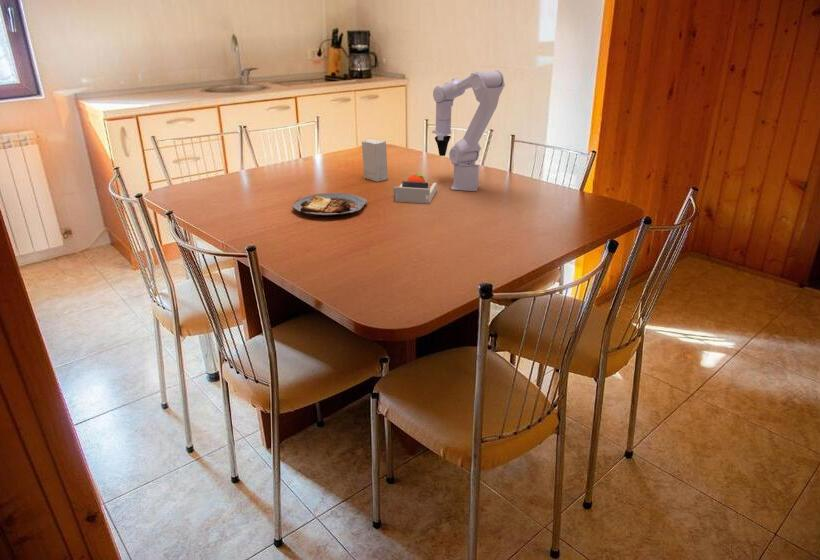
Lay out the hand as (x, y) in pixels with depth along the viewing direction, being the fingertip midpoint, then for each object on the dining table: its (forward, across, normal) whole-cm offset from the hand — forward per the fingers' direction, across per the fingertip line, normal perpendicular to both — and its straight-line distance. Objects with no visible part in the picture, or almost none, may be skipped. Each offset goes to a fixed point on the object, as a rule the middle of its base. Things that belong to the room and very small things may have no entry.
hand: (442, 155), depth 225 cm
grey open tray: (+9, +24, -6) cm, 26 cm away
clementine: (+10, +21, -6) cm, 24 cm away
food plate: (+10, +43, -32) cm, 54 cm away
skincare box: (+10, +4, -26) cm, 28 cm away
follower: (+9, +25, -6) cm, 27 cm away
